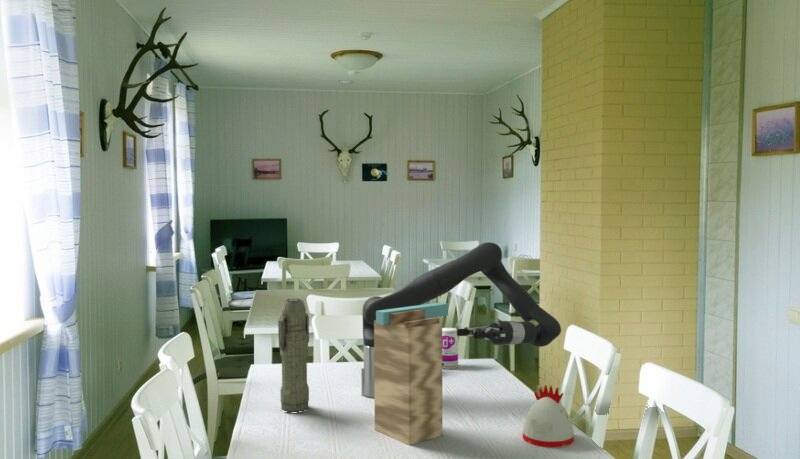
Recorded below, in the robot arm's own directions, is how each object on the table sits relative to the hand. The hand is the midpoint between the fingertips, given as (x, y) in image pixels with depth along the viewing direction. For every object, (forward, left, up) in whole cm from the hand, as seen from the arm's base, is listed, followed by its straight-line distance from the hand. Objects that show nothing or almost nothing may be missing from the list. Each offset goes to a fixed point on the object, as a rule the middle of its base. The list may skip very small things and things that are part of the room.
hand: (465, 333), depth 220 cm
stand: (-10, -21, -25) cm, 35 cm away
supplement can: (-24, +56, -26) cm, 66 cm away
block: (-11, -17, +7) cm, 21 cm away
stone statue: (-52, -13, -26) cm, 60 cm away
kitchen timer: (+28, -11, -26) cm, 39 cm away
